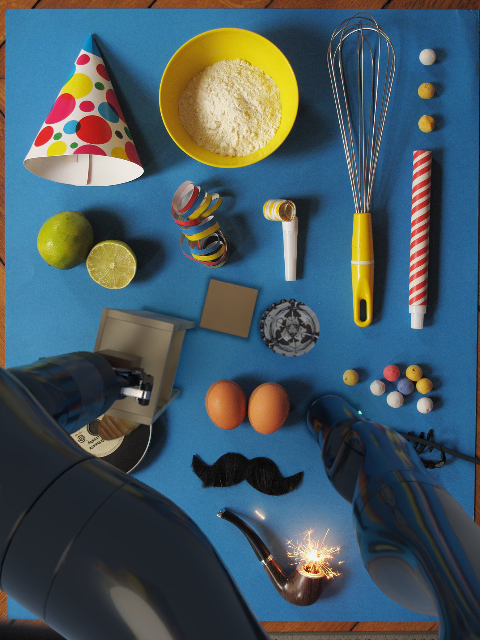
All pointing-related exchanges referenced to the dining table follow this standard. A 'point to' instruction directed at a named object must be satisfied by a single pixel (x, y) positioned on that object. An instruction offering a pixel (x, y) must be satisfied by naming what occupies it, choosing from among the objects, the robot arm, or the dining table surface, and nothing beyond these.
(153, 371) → the shelf
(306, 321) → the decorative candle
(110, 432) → the pastry
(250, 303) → the mat
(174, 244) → the dining table surface
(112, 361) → the block
